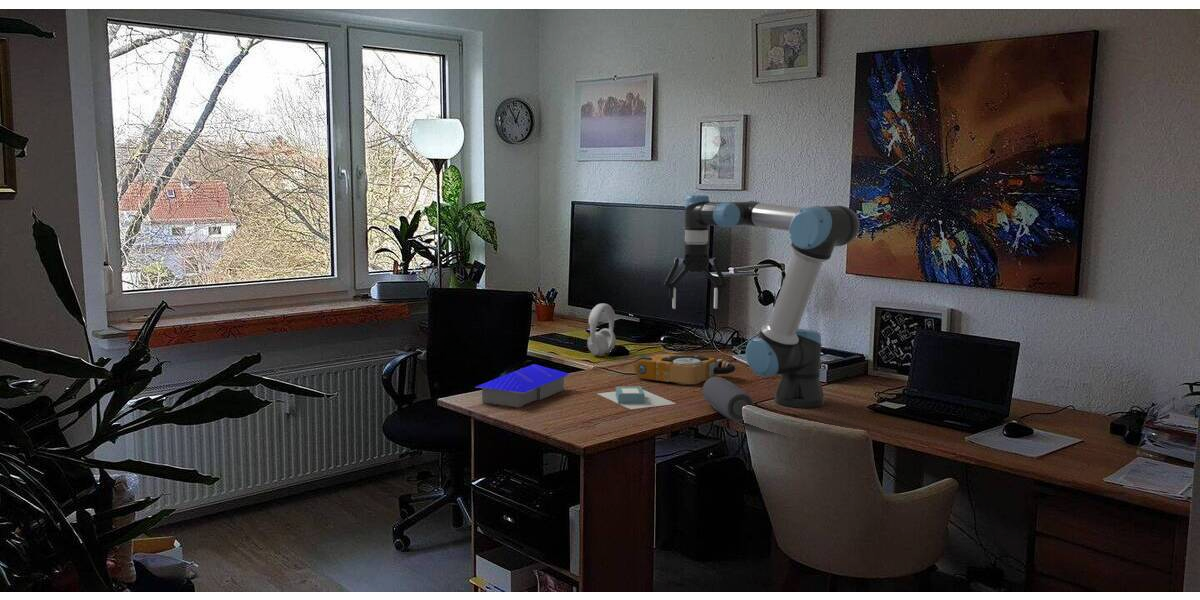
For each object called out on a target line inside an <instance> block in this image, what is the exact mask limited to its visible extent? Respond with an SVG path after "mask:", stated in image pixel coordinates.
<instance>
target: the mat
mask: <svg viewBox="0 0 1200 600" xmlns="http://www.w3.org/2000/svg"><path fill="white" fill-rule="evenodd" d="M643 392H644V394H645V400H644V403H640V404H619V405H621V406H622V407H624V408H627V409H629V410H637V409H645V408H651V407H652V408H653V407H659V406H660V407H661V406H669V405H670V406H671V405H675V404H677V403H676V402H673V401H671V400H669V399H666V398H664V397H661V396H659V395H656V394H654V393H652V392H650V391H647V390H645V389H643ZM597 395H598V396H601V397H603V398H605V399H607V400H610V401H612V402H614V403H616V404H618V401H617V398H616V390H615V391H608V392H600V393H597Z"/></svg>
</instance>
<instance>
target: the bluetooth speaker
mask: <svg viewBox="0 0 1200 600" xmlns="http://www.w3.org/2000/svg"><path fill="white" fill-rule="evenodd" d="M701 391H702V397H703V398H704V399H705V401H706V402H707V403H708V404H709V405H710V406H711V407H712V408H713V409H715V410H716V411H717V412H718V414H721V416H722V417H725V419H726V420H727V421H731V422H732V421H733V422H737V423H738V422H739V423H740V422H744V421H743V417H742V407H743V406H746V405H752V406H755V403H754V400H753V398H752V397H751V396H750V394H748V393H747V392H746V391H745V390H743V389H742V388H741V387H739V386H738V385H736V384H735V383H733V382H732V381H729V380H728V379H726V378H724V377H720V376H715V377H711V378H709V379H708V380H706V381H705V382H704V384H703V385H702V390H701Z"/></svg>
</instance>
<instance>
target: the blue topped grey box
mask: <svg viewBox="0 0 1200 600" xmlns="http://www.w3.org/2000/svg"><path fill="white" fill-rule="evenodd" d="M570 375H571V374H570V373H569V372H564V371H562V370H558V369H553V368H549V367H547V366H542V365H539V364H536V363H533V364H531V365H528V366H525V367H521V368H520V369H517V370H514V371H511V372H509V373H506V374H504V375H501V376H499V377H496V378H494V379H492V380H489V381H487V382H484V383H481V384H478V385H477V386H474V388H475V389H476V388H477V389H481V390H482V391H481V392H482V393H481V394H482V395H481V399H482V400H481V401H482V402H483V404H489V403H493V404H492V405H496V404H500V405H499V406H504V405H508V406H507V407H511V406H516V407H515V408H521V407H523V406H525V405H524V404H526V405H528V404H530V403H532V402H531V401H533V402H535V401H541V399H542V400H544V399H545V397H546V398H548V396H549V397H550V395H551V396H553V395H555V394H558V393H560V392H562V391H564V390H565V378H566V377H568V376H570ZM557 392H558V393H557ZM552 394H553V395H552ZM543 398H544V399H543ZM537 399H538V400H537ZM534 400H535V401H534ZM529 402H530V403H529ZM527 403H528V404H527ZM522 405H523V406H522ZM520 406H521V407H520Z"/></svg>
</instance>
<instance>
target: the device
mask: <svg viewBox="0 0 1200 600" xmlns="http://www.w3.org/2000/svg"><path fill="white" fill-rule="evenodd" d="M633 368H634V369H633V370H634V372H635V375H636V376H637V378H639V379H640V380H643V381H658V382H659V381H660V382H665V383H666V382H667V383H675V384H678V385H684V386H687V385H691V386H694V385H698V384H700V383H702V382H704V381H705V382H706V381H707V380H708V379H709V378H711V377H717V375H727V374H732V373H734V372H735V370H736V367H735V365H734V364H731V363H730V362H729V361H728V360H724V359H723V358H719V359H717V358H716V357H708V356H707V357H706V356H700V355H690V354H674V353H663V354H662V353H661V354H654V355H651V356H641V357H639V358H638V359H636V360H635V362H634V366H633Z"/></svg>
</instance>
